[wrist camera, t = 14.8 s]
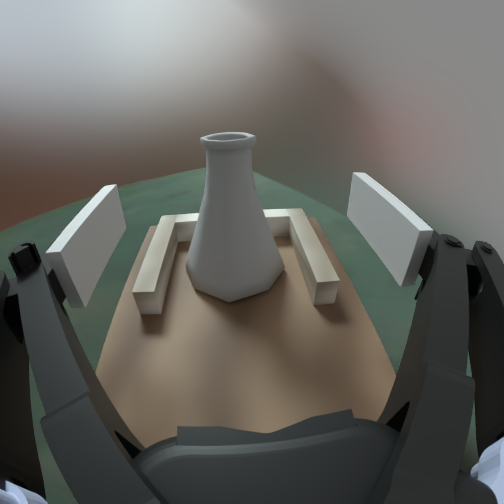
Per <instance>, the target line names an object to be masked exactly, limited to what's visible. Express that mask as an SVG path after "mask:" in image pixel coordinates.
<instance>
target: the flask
mask: <svg viewBox="0 0 504 504" xmlns="http://www.w3.org/2000/svg"><path fill="white" fill-rule="evenodd" d="M200 142H201V145H202V146H203V147H204V148H205V150H206V161H207V172H206V181H205V190H204V197H203V200H202V204H201V208H200V212H199V216H198V219H197V223H196V227H195V231H194V234H193V238H192V241H191V245H190V248H189V252H188V255H187V260H186V264H185V267H186V270H187V272H188V274H189V277H190V279H191V281H192V284H193V286H194V288H195V289H197V290H200V291H202V292H204V293H207V294H209V295H212V296H214V297H217V298H219V299H222V300H224V301H227V302H232V301H235V300H239V299H242V298H245V297H248V296H252V295H255V294H258V293H261V292H264V291H267V290H269V289H270V287H271V286H272V285H273V283H274V282H275V281H276V279H277V278H278V277H279V275H280V274H281V273H282V271H283V270H284V268H285V266H284V263H283V260H282V257H281V255H280V252H279V250H278V247H277V245H276V243H275V240H274V238H273V235H272V233H271V230H270V228H269V225H268V222H267V220H266V217H265V214H264V212H263V209H262V206H261V204H260V201H259V198H258V195H257V192H256V187H255V182H254V177H253V172H252V167H251V166H252V165H251V149H252V146H253V145H255V143H256V136H254V135H251V134H248V133H238V132H226V133H217V134H212V135H208V136H205V137H201V138H200Z"/></svg>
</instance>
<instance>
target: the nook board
mask: <svg viewBox="0 0 504 504" xmlns="http://www.w3.org/2000/svg"><path fill="white" fill-rule="evenodd" d="M263 212H264V214H265V217H266V220H267V222H268V225H269V228H270V230H271V233H272V235H273V238H274V240H275V243H276V245H277V247H278V250H279V252H280V255H281V257H282V260H283V263H284V266H285V268H284V270H283V271H282V273H281V274H280V275H279V277H278V278H277V279H276V281H275V282H274V283H273V285H272V286H271V287H270V289H269V290H267V291H264V292H261V293H258V294H255V295H252V296H248V297H245V298H242V299H239V300H235V301H232V302H227V301H224V300H222V299H219V298H217V297H214V296H212V295H209V294H207V293H204V292H202V291H200V290H197V289H195V288H194V286H193V284H192V281H191V279H190V277H189V274H188V272H187V270H186V267H185V264H186V260H187V255H188V252H189V248H190V245H191V241H192V238H193V234H194V231H195V227H196V223H197V219H198V216H199V213H195V214H180V215H167V216H162V217H161V219H160V222H159V224H158V226H150V228H149V231H148V233H147V235H146V237H145V239H144V242H143V244H142V246H141V248H140V251H139V253H138V255H137V258H136V260H135V262H134V265H133V267H132V270H131V272H130V274H129V277H128V279H127V282H126V284H125V287H124V290H123V292H122V295H121V297H120V300H119V303H118V305H117V308H116V311H115V314H114V317H113V319H112V322H111V325H110V328H109V331H108V334H107V337H106V340H105V343H104V346H103V350H102V353H101V356H100V360H99V363H98V366H97V370H96V373H95V374H96V376H97V378H98V380H99V381H100V383H101V385H102V387H103V388H104V390H105V392H106V394H107V395H108V397H109V399H110V400H111V402H112V404H113V405H114V407H115V408H116V410H117V411H118V413H119V415H120V416H121V418H122V419H123V421H124V422H125V424H126V425H127V427H128V428H129V429H130V431H131V432H132V433H133V435H134V436H135V437H136V438H137V439H138V441H139V442H140V443H141V444H142V445H143V446H144V447H145V448H147V447H149V446H151V445H152V444H154V443H157V442H159V441H161V440H164V439H167V438H170V437H175V436H177V426H222V427H228V428H233V429H239V430H246V431H252V432H260V433H271V432H274V431H277V430H280V429H282V428H285V427H288V426H290V425H293V424H295V423H298V422H300V421H303V420H305V419H308V418H310V417H313V416H319V415H324V414H329V413H334V412H338V411H343V410H347V409H352V412H353V415H354V418H361V419H369V420H373V421H377V420H378V418H379V417H380V415H381V414H382V412H383V410H384V408H385V405H386V403H387V400H388V398H389V395H390V392H391V390H392V387H393V384H394V381H395V378H396V374H395V371H394V369H393V367H392V365H391V362H390V360H389V358H388V356H387V354H386V351H385V349H384V347H383V345H382V343H381V341H380V339H379V336H378V334H377V332H376V330H375V328H374V326H373V324H372V322H371V320H370V318H369V316H368V314H367V312H366V310H365V308H364V306H363V304H362V302H361V300H360V298H359V296H358V294H357V292H356V291H355V289H354V287H353V285H352V283H351V281H350V279H349V277H348V275H347V274H346V272H345V270H344V268H343V266H342V264H341V263H340V261H339V259H338V257H337V255H336V254H335V252H334V250H333V248H332V247H331V245H330V243H329V241H328V240H327V238H326V236H325V234H324V233H323V231H322V229H321V228H320V226H319V224H318V223H317V221H316V219H315V218H314V217H309V218H307V217H306V215H305V213H304V212H303V210H302V209H271V210H263Z"/></svg>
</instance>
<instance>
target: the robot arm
mask: <svg viewBox="0 0 504 504" xmlns="http://www.w3.org/2000/svg"><path fill="white" fill-rule="evenodd" d="M347 216H348V218H349V219H350V220H351V221H352V223H353V224H354V225H355V226H356V228H357V229H358V230H359V231H360V233H361V234H362V235H363V236H364V238H365V239H366V240H367V242H368V243H369V244H370V246H371V247H372V248H373V249H374V251H375V252H376V253H377V255H378V256H379V258H380V259H381V260H382V262H383V263H384V264H385V266H386V267H387V268H388V270H389V271H390V273H391V274H392V275H393V277H394V278H395V280H396V281H397V283H398V284H399V285H400V287H404V286H411V285H414V284H415V281H416V279H417V276H418V273H419V275H420V276H421V277H422V278H423V280H422V282H421V285H420V287H419V289H418V292H417V294H416V296H415V300H417V303H416V308H415V312H414V316H413V320H412V325H411V328H410V332H409V336H408V340H407V343H406V347H405V350H404V354H403V357H402V360H401V363H400V366H399V370H398V373H397V375H396V378H395V381H394V384H393V387H392V390H391V392H390V395H389V398H388V400H387V403H386V405H385V408H384V410H383V412H382V414H381V415H380V417H379V418H378V420H377V421H373V420H369V419H361V418H354V415H353V412H352V409H347V410H343V411H338V412H334V413H329V414H324V415H319V416H313V417H310V418H308V419H305V420H303V421H300V422H298V423H295V424H293V425H290V426H288V427H285V428H282V429H280V430H277V431H274V432H271V433H260V432H252V431H246V430H239V429H233V428H228V427H222V426H177V436H175V437H170V438H167V439H164V440H161V441H159V442H157V443H154V444H152V445H151V446H149V447H147V448H145V447H144V446H143V445H142V444H141V443H140V442H139V441H138V439H137V438H136V437H135V436H134V435H133V433H132V432H131V431H130V429H129V428H128V427H127V425H126V424H125V422H124V421H123V419H122V418H121V416H120V415H119V413H118V411H117V410H116V408H115V407H114V405H113V404H112V402H111V400H110V399H109V397H108V395H107V394H106V392H105V390H104V388H103V387H102V385H101V383H100V381H99V380H98V378H97V376H96V374H95V372H94V370H93V368H92V367H91V365H90V363H89V361H88V359H87V357H86V355H85V353H84V351H83V349H82V346H81V344H80V342H79V340H78V338H77V336H76V333H75V331H74V329H73V326H72V324H71V322H70V319H69V317H68V314H67V312H66V310H65V308H64V306H63V304H62V303H63V301H64V299H65V297H66V299H67V300H68V302H69V304H70V306H71V308H86V306H87V303H88V301H89V299H90V297H91V295H92V293H93V291H94V288H95V286H96V284H97V282H98V280H99V278H100V276H101V274H102V272H103V270H104V268H105V266H106V264H107V262H108V260H109V259H110V257H111V255H112V253H113V251H114V249H115V247H116V245H117V244H118V242H119V240H120V238H121V236H122V235H123V233H124V231H125V229H126V225H125V220H124V216H123V212H122V208H121V203H120V198H119V194H118V189H117V185H109V186H104V187H103V188H102V189H101V190H100V191H99V192H98V194H96V195H95V196H94V198H93V199H92V200H91V201H90V202H89V203H88V204H87V205H86V206H85V207H84V208H83V209H82V210H81V211H80V212H79V214H78V215H77V216H76V217H75V218H74V219H73V220H72V221H71V223H70V224H69V225H68V226H67V227H66V228H65V230H64V231H63V232H61V233H60V234H59V235H58V236H57V237H56V238H55V240H54V242H52V243H51V245H50V247H48V248H47V250H46V251H45V252H44V253H43V255H42V256H41V257H40V256H39V253H38V251H37V248H36V246H35V243H34V242H33V241H27V242H24V243H22V244H20V245H18V246H17V247H15V248H14V249H13V250H12V251H11V252H10V254H9V256H8V258H9V261H10V263H11V265H12V267H13V269H14V271H15V273H16V277H14V278H11V279H7V277H6V275H5V273H4V271H0V504H48V503H47V502H46V495H45V488H44V481H43V477H42V472H41V467H40V462H39V458H38V453H37V447H36V442H35V435H34V429H33V421H32V412H31V401H30V385H29V360H30V364H31V368H32V371H33V375H34V378H35V382H36V385H37V388H38V392H39V395H40V398H41V401H42V404H43V406H44V409H45V412H46V416H44V417H43V418H41V421H40V424H41V427H42V431H43V433H44V436H45V438H46V441H47V443H48V446H49V448H50V450H51V452H52V455H53V457H54V459H55V461H56V463H57V465H58V467H59V469H60V471H61V473H62V475H63V477H64V479H65V481H66V483H67V485H68V486H69V488H70V490H71V492H72V493H73V495H74V497H75V498H76V500H77V502H78V503H79V504H504V264H503V262H502V260H501V258H500V257H499V255H498V253H497V252H496V250H495V249H494V248H493V247H492V246H491V245H490V244H488V243H487V242H482V241H476V242H475V245H474V247H473V250H469V249H465V248H464V245H463V244H462V242H461V241H459V240H458V239H457V238H455V237H453V236H450V235H447V234H441V235H439V234H438V233H437V232H436V231H435V230H434V229H433V228H432V227H431V226H429V225H428V224H427V223H426V222H425V221H424V220H422V218H421V217H419V216H418V215H417V214H416V213H414V212H413V211H412V210H410V209H409V208H408V207H407V206H406V205H405V204H403V203H402V202H401V201H400V200H399V199H397V198H396V197H395V196H394V195H392V194H391V193H390V192H389V191H387V190H386V189H385V188H384V187H382V186H381V185H380V184H378V183H377V182H376V181H375V180H373V179H372V178H371V177H369V176H368V175H367V174H365V173H356V172H353V176H352V184H351V192H350V198H349V205H348V212H347ZM482 287H483V288H482ZM481 289H482V291H481ZM480 291H481V292H480ZM468 351H469V357H470V364H471V371H472V377H469V376H466V368H467V356H468ZM474 400H475V419H476V441H477V449H478V456H479V463H477V464H476V465H474V466H473V468H472V470H471V474H470V475H471V476H470V475H468V474H467V473H465V472H463V471H461V470H459V467H460V464H461V461H462V457H463V453H464V449H465V445H466V441H467V436H468V432H469V427H470V421H471V416H472V409H473V403H474Z"/></svg>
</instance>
